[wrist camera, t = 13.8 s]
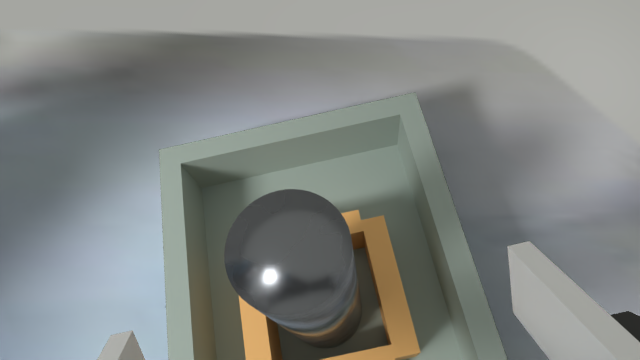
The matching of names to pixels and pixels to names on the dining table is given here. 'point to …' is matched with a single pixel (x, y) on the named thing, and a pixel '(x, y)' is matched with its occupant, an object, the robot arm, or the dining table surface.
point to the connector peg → (296, 265)
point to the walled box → (365, 228)
